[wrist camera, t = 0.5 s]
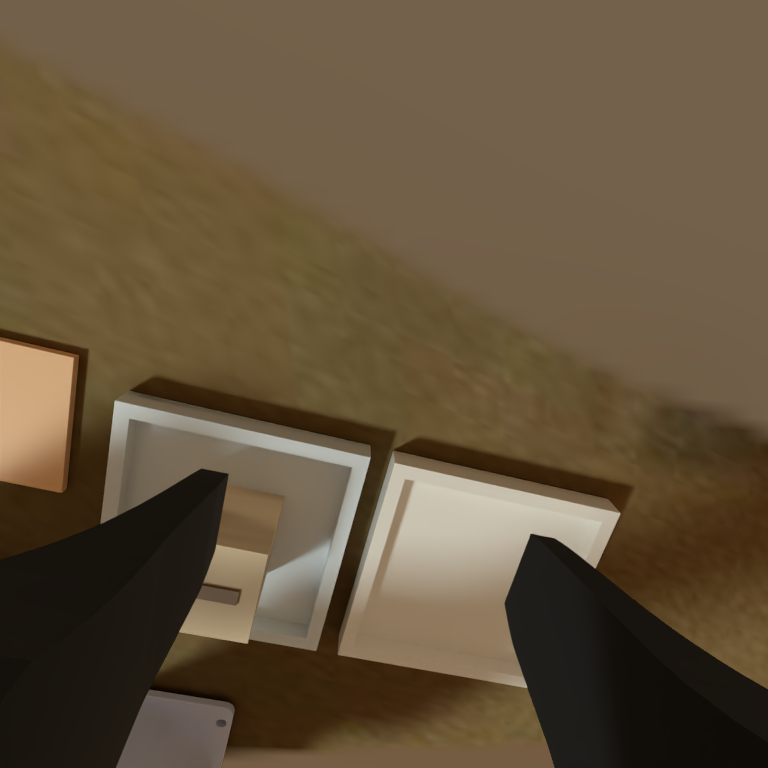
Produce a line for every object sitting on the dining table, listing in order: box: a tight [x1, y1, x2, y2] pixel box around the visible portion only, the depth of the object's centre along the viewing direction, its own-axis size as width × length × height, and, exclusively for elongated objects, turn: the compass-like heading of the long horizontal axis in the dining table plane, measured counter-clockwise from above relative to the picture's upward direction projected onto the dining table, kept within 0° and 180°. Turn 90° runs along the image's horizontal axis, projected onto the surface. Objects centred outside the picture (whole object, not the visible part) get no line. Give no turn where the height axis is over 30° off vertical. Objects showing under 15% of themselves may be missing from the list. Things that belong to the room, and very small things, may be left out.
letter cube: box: [179, 484, 285, 644], centre depth 20 cm, size 4×4×4 cm
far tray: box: [338, 450, 621, 688], centre depth 23 cm, size 10×10×1 cm
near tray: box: [100, 391, 371, 651], centre depth 22 cm, size 10×10×1 cm
